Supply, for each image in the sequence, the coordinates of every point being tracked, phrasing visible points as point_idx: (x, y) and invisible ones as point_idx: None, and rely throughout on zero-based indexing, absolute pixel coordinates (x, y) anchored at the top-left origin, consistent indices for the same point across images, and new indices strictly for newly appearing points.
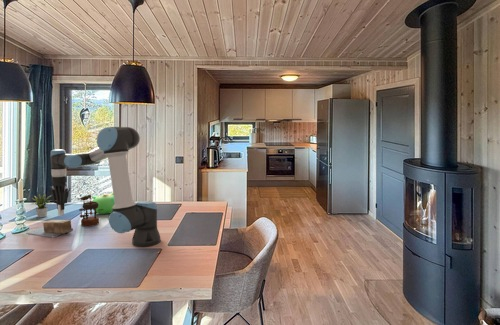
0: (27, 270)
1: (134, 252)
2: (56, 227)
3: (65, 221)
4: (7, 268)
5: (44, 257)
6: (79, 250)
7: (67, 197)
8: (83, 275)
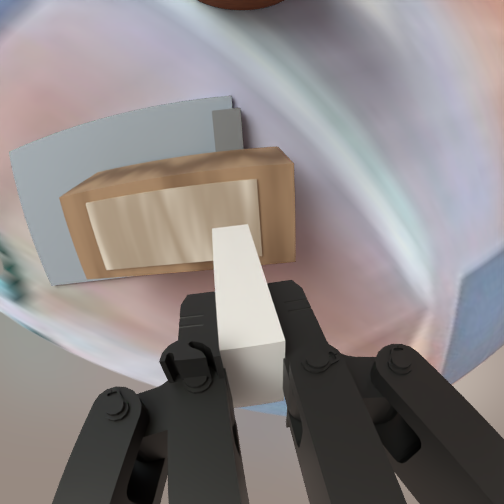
0: None
1: None
2: None
3: (284, 218)
4: None
5: None
6: (447, 297)
7: (491, 448)
8: (478, 350)
